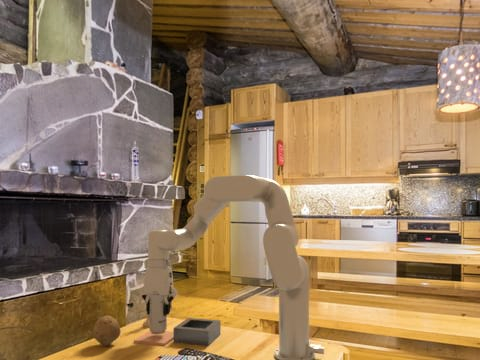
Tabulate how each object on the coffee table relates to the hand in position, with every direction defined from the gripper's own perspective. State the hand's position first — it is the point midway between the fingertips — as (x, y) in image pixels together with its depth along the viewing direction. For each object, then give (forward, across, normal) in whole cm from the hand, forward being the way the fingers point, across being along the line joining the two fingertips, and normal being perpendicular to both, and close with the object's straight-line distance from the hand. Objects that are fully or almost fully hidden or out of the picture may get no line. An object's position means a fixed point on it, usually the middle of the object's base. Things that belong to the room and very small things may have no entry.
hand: (158, 313), depth 140 cm
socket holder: (+9, -14, -4) cm, 17 cm away
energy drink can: (+7, 0, 0) cm, 7 cm away
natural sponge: (+9, +14, +11) cm, 20 cm away
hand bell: (+9, +10, -16) cm, 21 cm away
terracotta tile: (+9, 0, 0) cm, 9 cm away
